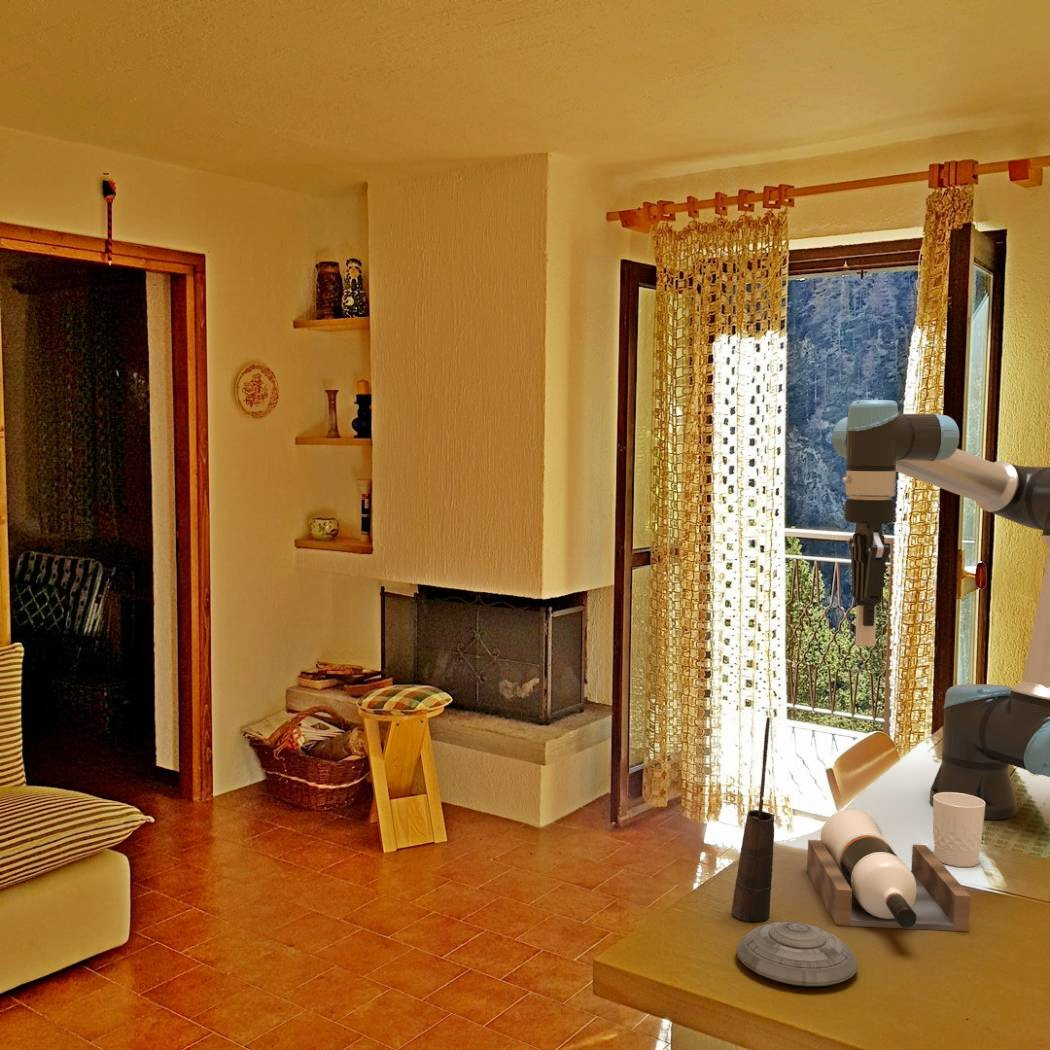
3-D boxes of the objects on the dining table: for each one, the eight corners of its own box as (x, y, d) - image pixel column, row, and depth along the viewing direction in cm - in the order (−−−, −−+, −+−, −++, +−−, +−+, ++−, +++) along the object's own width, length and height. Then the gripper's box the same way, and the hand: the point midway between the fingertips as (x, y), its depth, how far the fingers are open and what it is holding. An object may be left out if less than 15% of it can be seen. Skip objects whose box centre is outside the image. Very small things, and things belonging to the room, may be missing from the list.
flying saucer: (882, 988, 137) (884, 945, 136) (772, 1002, 132) (774, 957, 132) (816, 936, 151) (818, 897, 150) (715, 947, 147) (717, 907, 146)
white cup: (983, 872, 176) (986, 809, 175) (929, 864, 178) (933, 803, 178) (981, 855, 183) (984, 795, 182) (930, 848, 186) (933, 789, 185)
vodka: (834, 797, 174) (890, 873, 144) (888, 821, 174) (956, 902, 144) (809, 849, 175) (859, 936, 145) (862, 873, 175) (924, 965, 145)
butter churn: (761, 939, 149) (770, 732, 147) (702, 917, 155) (710, 719, 154) (797, 919, 155) (806, 721, 154) (738, 899, 162) (746, 709, 160)
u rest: (806, 871, 174) (808, 839, 174) (924, 876, 173) (925, 845, 173) (835, 925, 154) (837, 889, 154) (968, 931, 153) (970, 896, 153)
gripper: (834, 495, 183) (830, 637, 185) (857, 499, 170) (853, 652, 172) (880, 496, 183) (876, 638, 185) (907, 500, 170) (902, 653, 172)
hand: (865, 645), depth 179 cm, fingers closed
